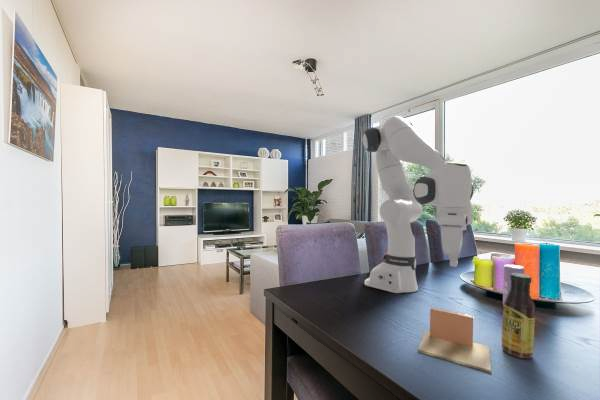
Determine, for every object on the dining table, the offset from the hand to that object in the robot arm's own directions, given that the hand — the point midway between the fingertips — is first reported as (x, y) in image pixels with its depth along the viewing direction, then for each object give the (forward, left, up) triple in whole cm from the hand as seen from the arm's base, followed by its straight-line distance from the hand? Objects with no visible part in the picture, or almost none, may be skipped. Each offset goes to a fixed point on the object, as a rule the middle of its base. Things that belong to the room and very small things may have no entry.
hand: (453, 265), depth 78 cm
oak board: (+1, -10, -19) cm, 22 cm away
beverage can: (+17, +35, -20) cm, 43 cm away
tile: (0, -6, -19) cm, 20 cm away
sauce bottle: (+14, -2, -20) cm, 24 cm away
